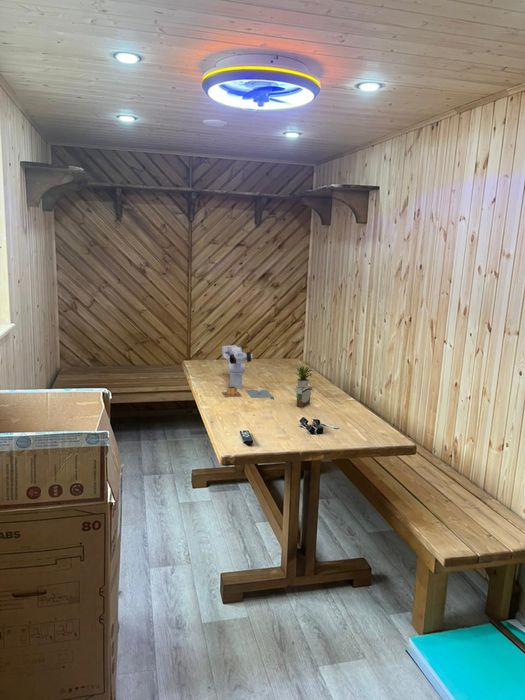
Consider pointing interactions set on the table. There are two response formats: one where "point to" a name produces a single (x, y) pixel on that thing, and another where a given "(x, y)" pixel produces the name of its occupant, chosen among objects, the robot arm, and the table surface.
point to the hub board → (263, 392)
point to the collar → (231, 391)
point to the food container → (303, 396)
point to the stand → (231, 396)
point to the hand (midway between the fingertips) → (242, 360)
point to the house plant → (303, 375)
